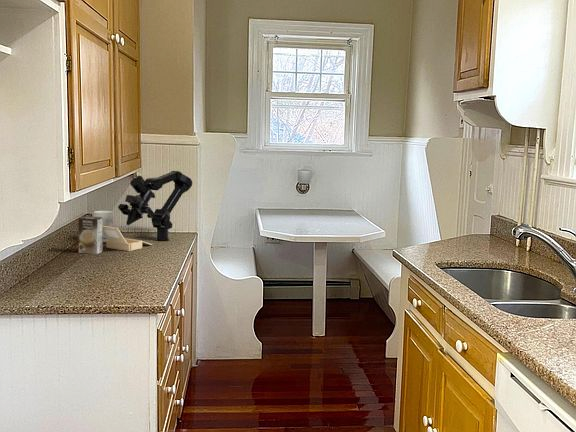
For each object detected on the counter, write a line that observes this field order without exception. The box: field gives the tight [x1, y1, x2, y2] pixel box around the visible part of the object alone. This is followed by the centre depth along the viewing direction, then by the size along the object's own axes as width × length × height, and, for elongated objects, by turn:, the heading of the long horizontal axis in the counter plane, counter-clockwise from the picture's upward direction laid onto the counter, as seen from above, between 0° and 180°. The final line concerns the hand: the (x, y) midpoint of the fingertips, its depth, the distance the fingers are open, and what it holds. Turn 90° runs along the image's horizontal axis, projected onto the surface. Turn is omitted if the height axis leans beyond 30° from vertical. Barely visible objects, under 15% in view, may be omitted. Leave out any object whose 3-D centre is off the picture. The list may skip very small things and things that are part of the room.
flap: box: [102, 226, 127, 243], centre depth 277 cm, size 10×12×1 cm
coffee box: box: [78, 215, 103, 255], centre depth 272 cm, size 9×6×16 cm
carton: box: [106, 237, 154, 252], centre depth 288 cm, size 18×15×4 cm
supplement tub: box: [92, 210, 114, 243], centre depth 300 cm, size 10×10×15 cm
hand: (127, 224), depth 285 cm, fingers closed
